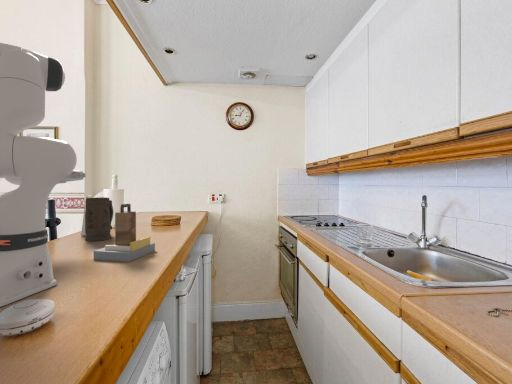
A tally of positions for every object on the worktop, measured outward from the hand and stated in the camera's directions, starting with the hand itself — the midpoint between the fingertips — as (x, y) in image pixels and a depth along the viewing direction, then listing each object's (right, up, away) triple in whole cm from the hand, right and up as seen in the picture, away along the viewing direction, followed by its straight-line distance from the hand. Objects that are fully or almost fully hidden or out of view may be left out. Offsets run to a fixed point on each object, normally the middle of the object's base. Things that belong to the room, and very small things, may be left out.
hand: (74, 174), depth 109 cm
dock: (+22, -30, -4) cm, 37 cm away
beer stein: (-5, -29, +27) cm, 40 cm away
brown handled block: (+21, -27, -4) cm, 35 cm away
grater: (-14, -28, +39) cm, 51 cm away
